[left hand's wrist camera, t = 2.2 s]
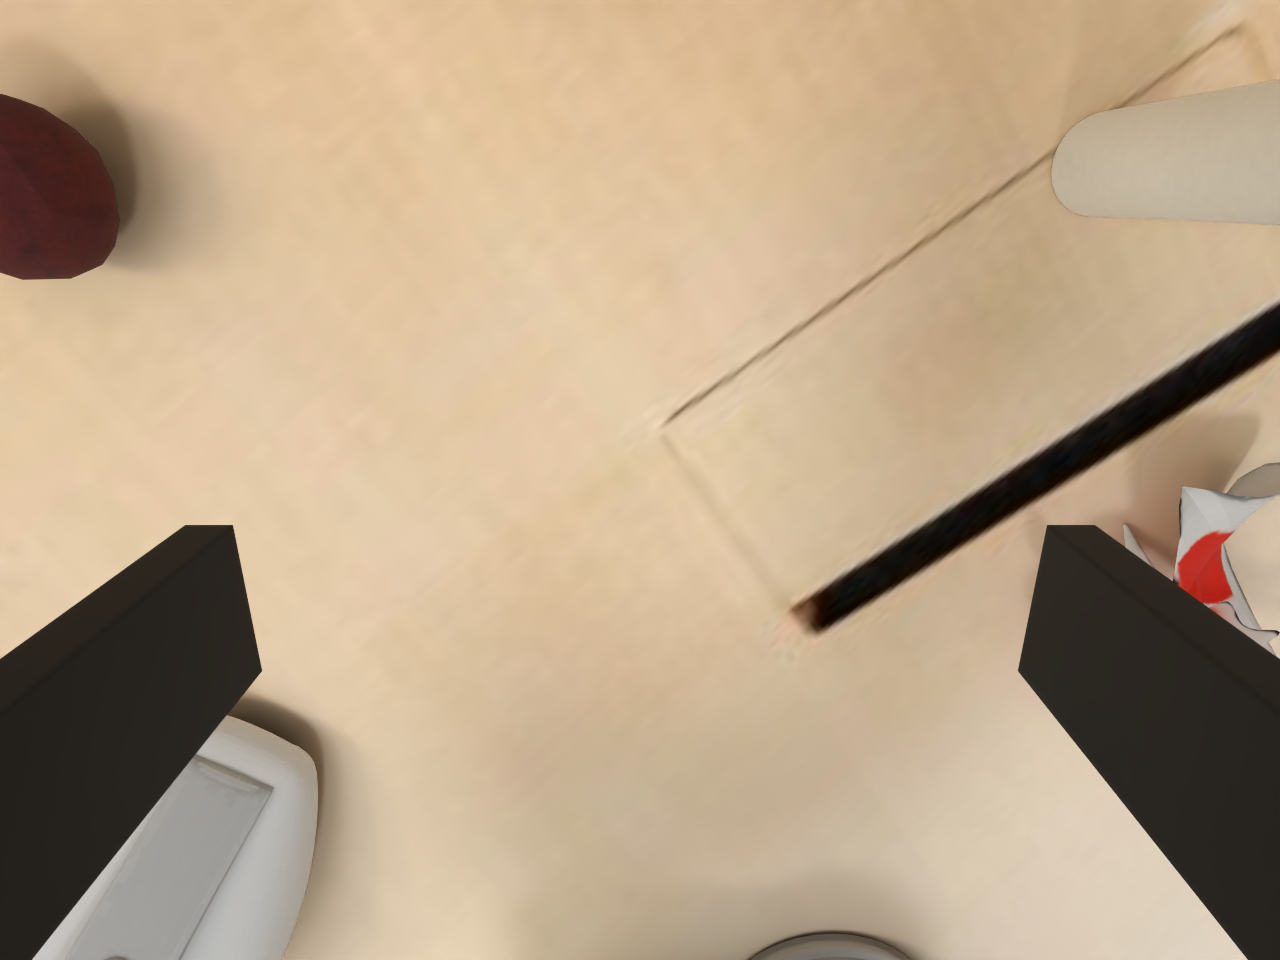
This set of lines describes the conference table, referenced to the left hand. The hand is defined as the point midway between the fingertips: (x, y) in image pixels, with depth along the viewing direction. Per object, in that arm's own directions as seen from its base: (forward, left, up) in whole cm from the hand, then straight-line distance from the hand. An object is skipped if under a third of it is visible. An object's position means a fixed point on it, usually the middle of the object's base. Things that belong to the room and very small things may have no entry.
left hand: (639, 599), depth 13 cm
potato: (+6, +27, -28) cm, 39 cm away
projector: (-33, +29, -28) cm, 52 cm away
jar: (+8, -22, -28) cm, 36 cm away
